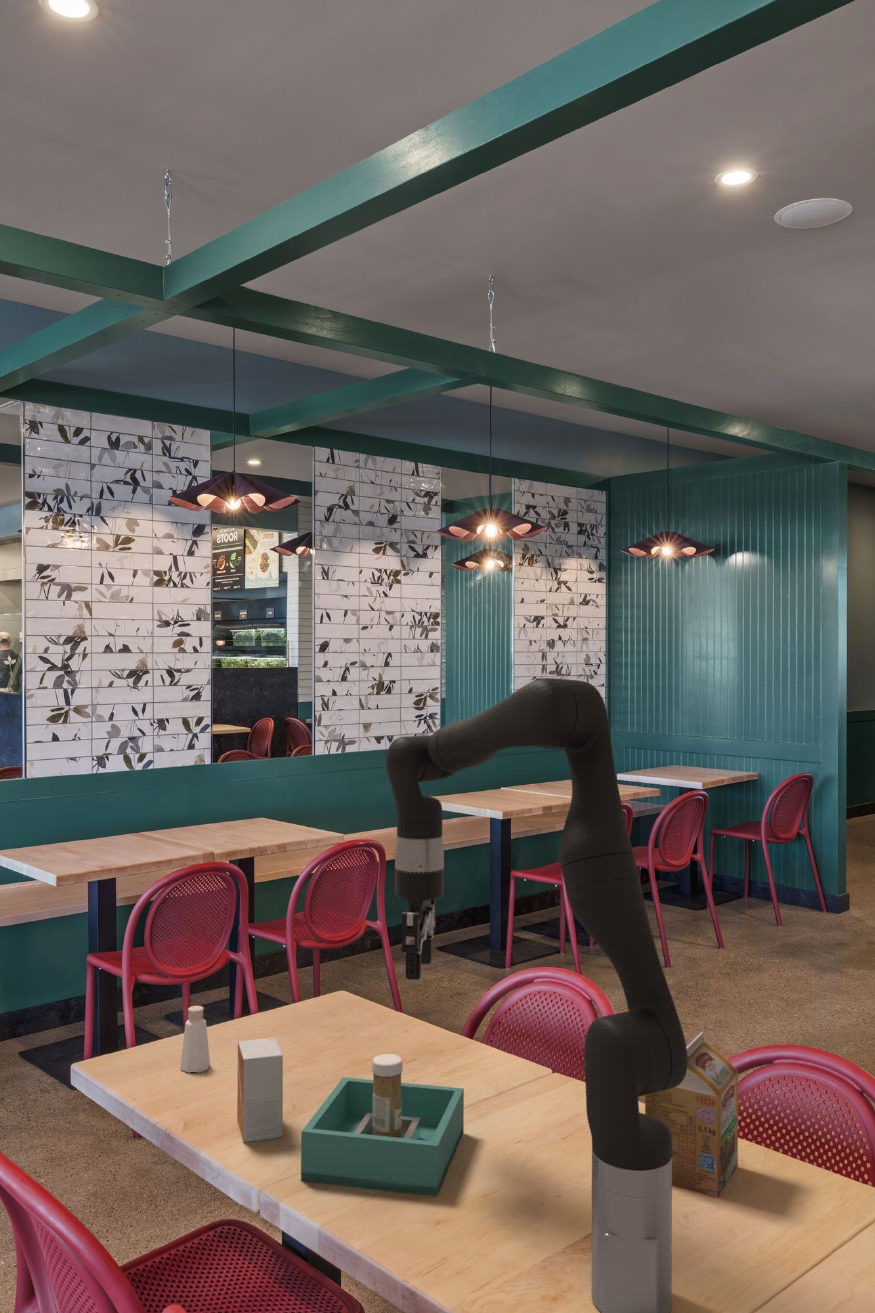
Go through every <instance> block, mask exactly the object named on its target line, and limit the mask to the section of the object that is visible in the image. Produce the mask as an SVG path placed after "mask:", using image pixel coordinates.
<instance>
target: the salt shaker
mask: <svg viewBox="0 0 875 1313" xmlns="http://www.w3.org/2000/svg"><path fill="white" fill-rule="evenodd" d="M204 1009H205V1008H204V1006H201V1005H193V1006H192V1005H191V1006H189V1008H187V1012H188V1014H187V1015H188V1020H186V1022H185V1025H184V1033H183V1044H182V1051H181V1060H180V1067H179V1068H180V1070H181V1069H182V1070H183V1071H182V1070H181V1071H182V1072H184V1071H186V1072H188V1073H187V1074H191V1073H190V1072H199V1073H202V1072H205V1071H208V1070H207V1069H209V1068H210V1067H211V1061H210V1050H209V1049H210V1048H209V1040H208V1039H209V1038H208V1029H207V1027H208V1026H207V1020H206V1019H204V1017H203V1016H204ZM204 1070H205V1071H204ZM201 1071H202V1072H201ZM186 1072H185V1073H186Z"/></svg>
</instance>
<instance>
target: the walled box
mask: <svg viewBox="0 0 875 1313" xmlns="http://www.w3.org/2000/svg"><path fill="white" fill-rule="evenodd" d="M464 1091H465V1090H464V1088H463V1087H462V1088H461V1087H451V1086H442V1085H441V1086H440V1085H429V1084H418V1083H409V1082H401V1116H404V1117H414V1118H421V1136H420V1140H415V1139H406V1138H396V1137H387V1136H377V1135H368V1134H358V1133H354V1132H355V1130H356V1129H357V1127H358V1126H359V1124H360V1123H361V1121H362V1120H363V1118H364V1117H365V1115H366V1113H373V1079H368V1078H366V1079H365V1078H355V1077H344V1076H343V1077H342V1078H341V1080H340V1081H339V1082H338V1083H337V1085H336V1086H335V1087H334V1088H333V1090H331V1092H330V1093H329V1095H328V1096H327V1097H326V1099H325V1100H324V1102H322V1104H321V1105H320V1106H319V1108H318V1109H317V1111H316V1112H315V1113H314V1114H313V1115H312V1117H311V1118H310V1119H309V1121H308V1122H307V1123H306V1125H305V1126H304V1127H303V1129H302V1130H301V1132H300V1133H301V1135H300V1136H301V1137H300V1138H301V1139H300V1141H301V1143H300V1145H301V1146H300V1181H302V1182H309V1183H310V1182H311V1183H319V1184H327V1185H328V1184H329V1185H336V1186H345V1187H353V1188H354V1187H355V1188H362V1189H372V1190H379V1191H387V1192H396V1193H404V1194H405V1193H406V1194H407V1193H408V1194H413V1195H421V1196H422V1195H423V1196H430V1197H438V1195H439V1193H440V1191H441V1188H442V1185H443V1183H444V1180H445V1179H446V1177H447V1174H448V1171H449V1169H450V1167H451V1164H452V1162H453V1159H454V1157H455V1156H456V1155H455V1154H456V1152H457V1150H458V1148H459V1146H460V1142H461V1140H462V1138H463V1135H464V1120H465V1119H464V1110H465V1108H464V1107H465V1106H464V1105H465V1104H464V1103H465V1100H464V1099H465V1098H464V1096H465V1092H464Z"/></svg>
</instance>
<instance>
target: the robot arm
mask: <svg viewBox="0 0 875 1313" xmlns="http://www.w3.org/2000/svg"><path fill="white" fill-rule="evenodd" d="M607 711H608V710H607V708H606V704H605V701H604V699H603V697H602V695H601V693H600V691H599V690H598V689H597V688H596V686H594V685H593V684H592V683H589V682H587V681H583V680H579V679H578V680H577V679H568V678H567V679H566V678H565V679H564V678H554V677H553V678H551V677H545V678H544V677H543V678H537V679H535V680H532V681H531V682H529V683H527V684H525V685H523V686H522V687H520V688H518V689H517V690H515V691H514V692H512V693H511V694H510V695H508V696H506V697H505V698H504V699H502V700H500V701H498V702H497V703H496V704H493V705H492V706H491V707H489V708H487V709H485V710H483V711H481V712H479V713H477V714H474V715H472V716H468V717H465V718H462V719H461V720H456V721H454V722H451V723H448V724H446V725H444V726H441V727H440V728H438V729H437V730H435V731H434V732H433V734H432V735H415V736H414V735H413V736H412V735H410V736H400V737H397V738H395V739H393V741H392V742H391V743H390V745H389V746H388V749H387V752H386V754H385V755H386V757H385V765H386V766H385V768H386V772H387V775H388V779H389V783H390V785H391V790H392V794H393V799H394V803H395V808H396V835H397V836H396V843H395V851H394V852H395V855H394V856H395V857H394V858H395V859H394V860H395V861H394V864H395V866H394V893H395V896H396V897H398V898H399V899H402V900H406V901H407V902H408V903H407V909H404V911H402V913H401V947H400V950H401V953H402V954H403V953H404V955H405V978H406V979H407V980H415V981H417V980H419V979H420V978H421V976H422V965H430V964H431V963H432V960H433V959H432V958H433V950H432V949H433V944H432V943H433V941H432V939H434V936H435V935H434V934H435V932H436V929H437V926H436V899H440V898H442V897H443V895H444V892H445V886H444V885H445V884H444V883H445V881H444V880H445V874H444V873H445V870H444V869H445V859H444V858H445V857H444V856H445V853H444V852H445V851H444V843H443V807H442V803H441V801H440V799H438V798H436V797H432V796H427V795H423V793H422V791H421V788H420V785H419V783H420V782H430V781H431V782H433V781H434V782H435V781H440V780H444V779H447V778H450V777H451V776H454V775H455V774H456V773H458V772H459V771H463V770H467V769H469V768H473V767H477V766H480V765H482V764H485V763H488V762H489V761H491V760H492V759H493V758H495V757H496V756H497V754H498V753H499V752H500V751H502V750H505V749H508V748H509V749H510V748H518V747H519V748H521V747H539V748H541V749H548V750H555V749H556V750H564V752H565V755H566V759H567V763H568V764H567V765H568V767H569V774H570V779H571V798H570V799H571V800H570V805H569V808H568V811H567V815H566V819H565V822H564V825H563V829H562V832H561V837H560V841H559V848H558V854H559V857H558V858H559V863H560V864H559V865H560V868H561V874H562V879H563V883H564V887H565V893H566V897H567V901H568V904H569V908H570V909H571V911H572V913H573V914H574V916H575V918H576V919H577V920H578V922H579V924H580V925H581V926H582V927H583V928H584V930H585V931H586V932H587V934H588V936H590V937H591V938H592V939H593V941H594V942H595V944H597V946H598V947H599V948H600V949H601V950H602V952H603V953H604V954H605V955H606V957H607V958H608V960H609V961H610V963H611V964H612V966H613V968H614V970H615V971H616V973H617V976H618V978H619V981H620V984H621V987H622V989H623V993H624V994H623V995H624V997H625V1001H626V1004H627V1010H628V1011H623V1012H618V1013H614V1014H607V1015H604V1016H600V1017H598V1018H596V1019H594V1020H593V1021H592V1022H591V1023H590V1024H589V1026H588V1029H587V1031H586V1035H585V1039H584V1046H583V1047H584V1048H583V1049H584V1050H583V1052H584V1053H583V1056H584V1057H583V1060H584V1062H583V1063H584V1079H585V1080H584V1083H585V1101H586V1102H585V1105H586V1106H585V1107H586V1116H587V1123H588V1128H589V1131H590V1136H591V1251H590V1252H591V1254H590V1256H591V1258H590V1259H591V1260H590V1261H591V1278H590V1279H591V1283H590V1286H591V1288H590V1289H591V1293H590V1294H591V1300H592V1303H593V1305H594V1306H595V1307H596V1308H597V1310H598V1311H599V1312H600V1313H670V1312H671V1309H672V1302H673V1301H672V1299H673V1298H672V1295H673V1294H672V1293H673V1290H672V1289H673V1287H672V1285H673V1284H672V1283H673V1282H672V1281H673V1268H672V1267H673V1265H672V1264H673V1260H672V1259H673V1257H672V1254H673V1251H672V1249H673V1248H672V1246H673V1245H672V1244H673V1242H672V1240H673V1219H672V1218H673V1186H672V1136H671V1133H670V1130H669V1129H668V1127H667V1126H666V1125H665V1124H664V1123H662V1122H661V1121H659V1120H657V1119H656V1118H653V1117H651V1116H649V1115H646V1114H645V1113H642V1112H640V1106H639V1097H643V1096H645V1095H647V1094H651V1093H656V1092H659V1091H663V1090H668V1089H671V1088H674V1087H676V1086H678V1085H679V1084H680V1083H681V1082H682V1081H683V1079H684V1078H685V1076H686V1071H687V1066H688V1057H687V1048H686V1046H687V1044H686V1039H685V1038H686V1037H685V1034H684V1030H683V1027H682V1023H681V1020H680V1018H679V1015H678V1011H677V1008H676V1005H675V1003H674V1000H673V996H672V994H671V991H670V987H669V985H668V982H667V979H666V975H665V973H664V969H663V967H662V964H661V963H662V962H661V960H660V957H659V954H658V950H657V946H656V943H655V939H654V938H655V937H654V936H653V933H652V932H653V931H652V927H651V924H650V920H649V915H648V912H647V908H646V905H645V899H644V895H643V894H644V893H643V888H642V884H641V879H640V875H639V870H638V868H637V867H638V866H637V863H636V857H635V854H634V850H633V846H632V843H631V839H630V835H629V832H628V828H627V822H626V818H625V815H624V809H623V804H622V800H621V795H620V789H619V784H618V780H617V774H616V766H615V760H614V753H613V752H614V751H613V745H612V736H611V729H610V723H609V718H608V712H607ZM411 941H414V944H411Z"/></svg>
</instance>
